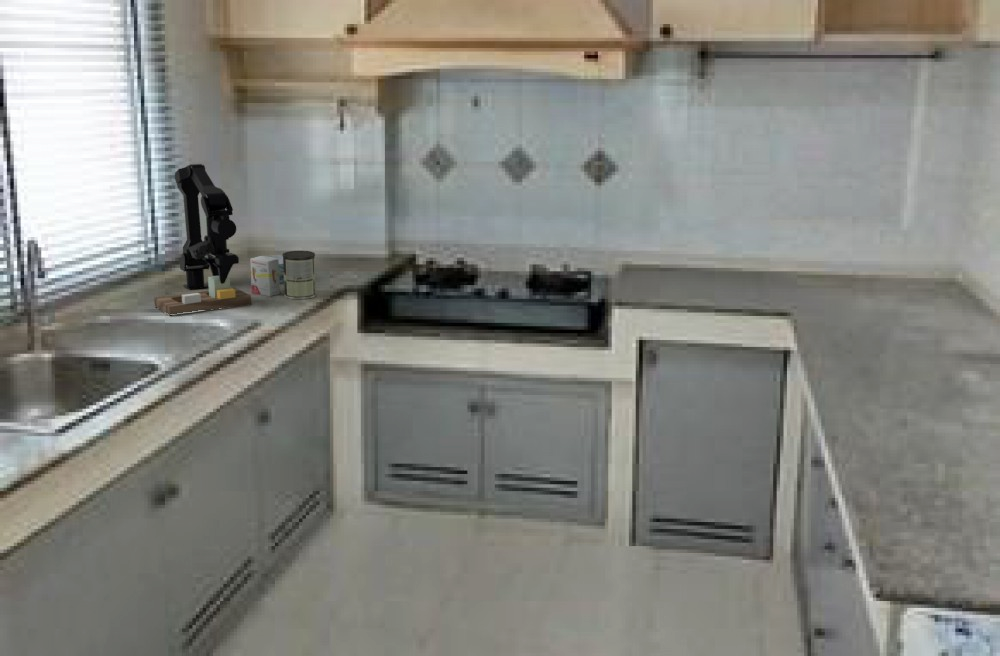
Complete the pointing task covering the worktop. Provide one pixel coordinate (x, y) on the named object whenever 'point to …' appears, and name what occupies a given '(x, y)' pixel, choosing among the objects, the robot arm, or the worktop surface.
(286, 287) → the coffee can
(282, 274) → the chinaware
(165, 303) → the socket block
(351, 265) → the worktop surface
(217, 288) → the pale mint cube
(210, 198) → the robot arm
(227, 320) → the worktop surface
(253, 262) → the ink box
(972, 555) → the worktop surface
